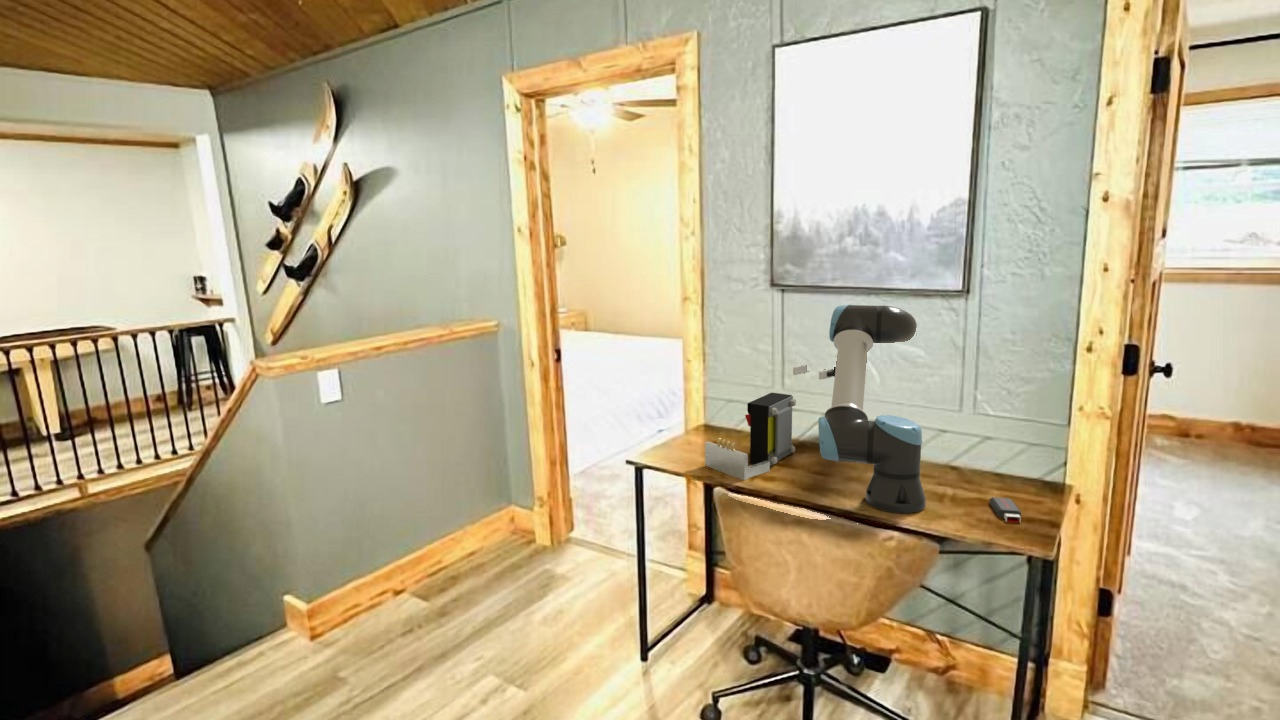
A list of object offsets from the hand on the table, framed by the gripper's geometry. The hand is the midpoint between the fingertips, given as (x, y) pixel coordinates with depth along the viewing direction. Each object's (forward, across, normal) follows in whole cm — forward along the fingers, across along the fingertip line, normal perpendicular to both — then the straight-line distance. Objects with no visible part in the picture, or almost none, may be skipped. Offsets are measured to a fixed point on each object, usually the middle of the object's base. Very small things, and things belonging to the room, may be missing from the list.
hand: (806, 373), depth 222 cm
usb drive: (+6, -69, -27) cm, 74 cm away
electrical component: (+18, 0, -26) cm, 32 cm away
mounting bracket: (+33, 0, -26) cm, 42 cm away
